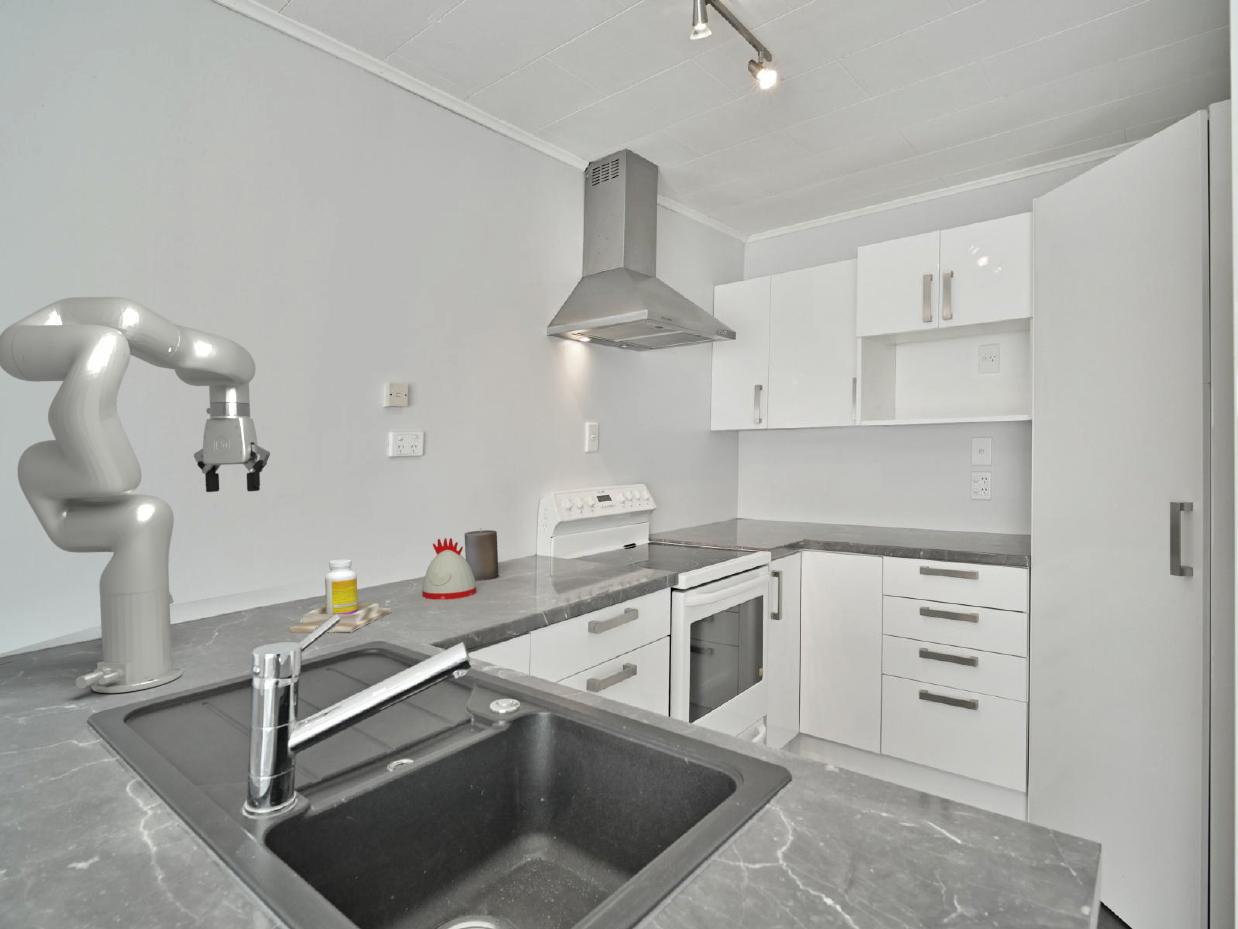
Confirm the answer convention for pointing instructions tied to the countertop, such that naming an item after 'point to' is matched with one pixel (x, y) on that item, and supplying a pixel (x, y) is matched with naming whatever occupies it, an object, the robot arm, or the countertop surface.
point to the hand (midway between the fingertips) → (233, 491)
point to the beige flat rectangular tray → (347, 621)
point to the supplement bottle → (341, 588)
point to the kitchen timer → (448, 574)
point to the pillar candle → (482, 554)
